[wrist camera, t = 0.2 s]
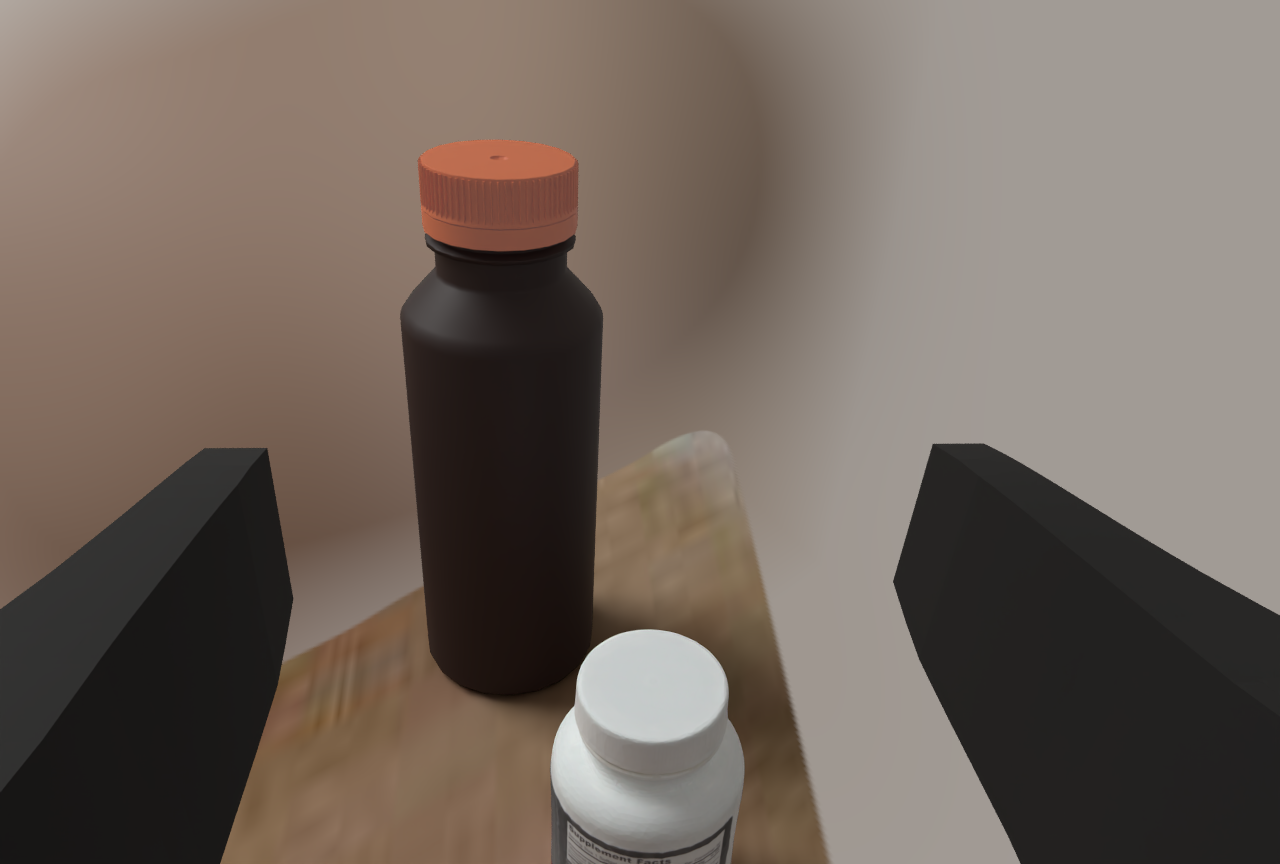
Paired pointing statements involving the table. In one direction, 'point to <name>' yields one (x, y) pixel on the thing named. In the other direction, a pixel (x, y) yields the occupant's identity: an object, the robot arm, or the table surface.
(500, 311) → the vinegar
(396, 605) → the table surface
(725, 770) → the pill bottle
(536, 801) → the table surface
